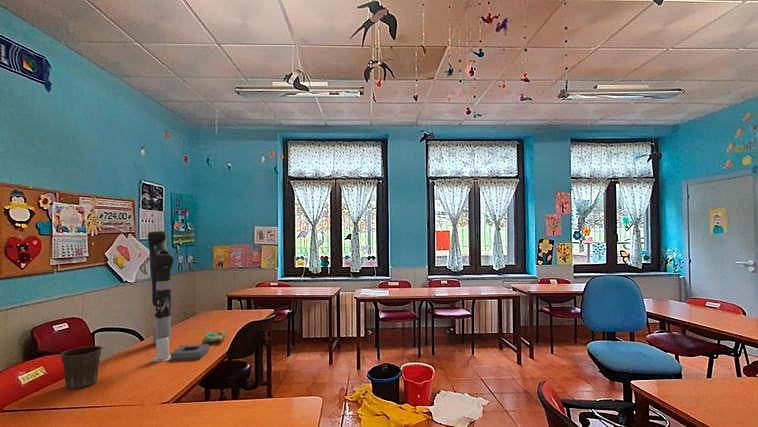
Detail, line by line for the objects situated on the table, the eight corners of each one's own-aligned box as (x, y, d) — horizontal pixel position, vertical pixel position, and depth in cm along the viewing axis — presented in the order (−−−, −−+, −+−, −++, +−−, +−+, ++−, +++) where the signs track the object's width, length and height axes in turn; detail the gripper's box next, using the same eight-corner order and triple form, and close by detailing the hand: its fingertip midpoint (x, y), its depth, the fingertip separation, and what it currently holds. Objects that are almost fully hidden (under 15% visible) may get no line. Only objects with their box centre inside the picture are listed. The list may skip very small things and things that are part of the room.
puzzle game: (226, 329, 277) (221, 337, 258) (226, 336, 277) (221, 344, 257) (208, 331, 274) (202, 338, 255) (208, 338, 274) (202, 346, 255)
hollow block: (170, 360, 225) (170, 353, 225) (181, 352, 241) (181, 345, 241) (200, 359, 227) (200, 352, 227) (208, 350, 243) (208, 344, 243)
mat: (150, 362, 223) (150, 361, 223) (157, 357, 232) (157, 356, 232) (167, 361, 224) (167, 360, 224) (173, 356, 233) (173, 355, 233)
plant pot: (52, 393, 181) (52, 357, 182) (69, 380, 196) (70, 347, 197) (93, 388, 185) (94, 353, 186) (107, 376, 201) (107, 344, 201)
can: (154, 358, 228) (154, 337, 229) (166, 355, 233) (166, 334, 233) (158, 360, 224) (158, 339, 224) (170, 357, 229) (170, 336, 229)
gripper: (161, 287, 237) (161, 314, 236) (151, 290, 223) (150, 319, 222) (175, 286, 238) (174, 313, 237) (165, 290, 224) (164, 319, 223)
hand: (163, 316), depth 230 cm, fingers open, 8 cm apart
